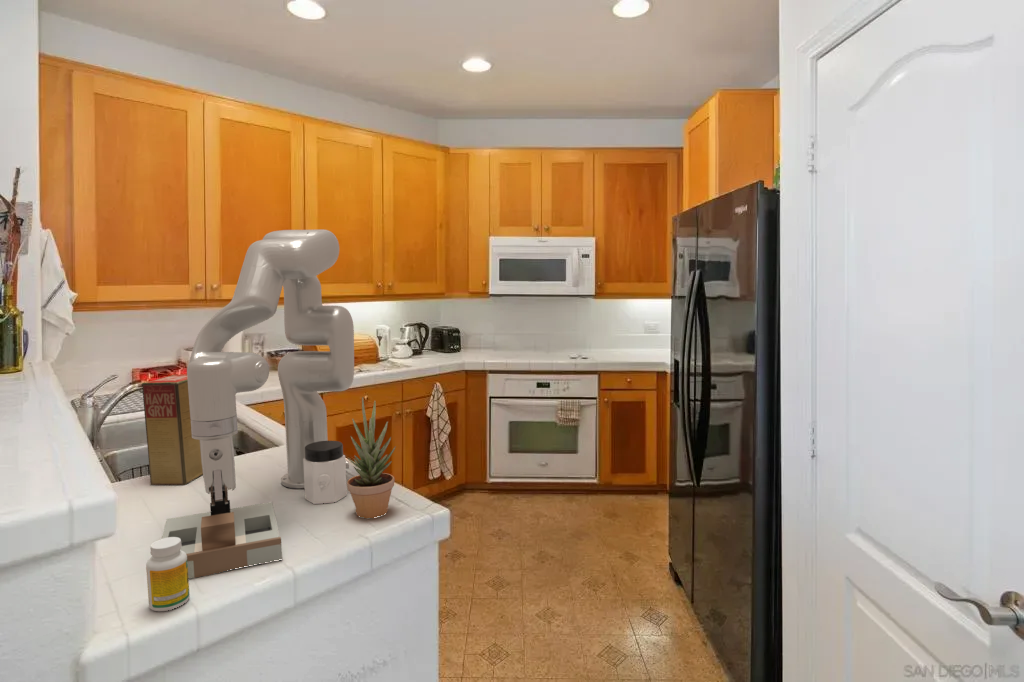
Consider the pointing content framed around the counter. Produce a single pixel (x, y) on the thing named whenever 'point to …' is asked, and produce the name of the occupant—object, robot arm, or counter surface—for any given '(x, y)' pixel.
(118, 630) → the counter surface
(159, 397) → the food packaging
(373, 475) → the potted plant
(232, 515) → the walnut block
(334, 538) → the counter surface
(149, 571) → the supplement bottle
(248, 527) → the board
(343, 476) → the jar
